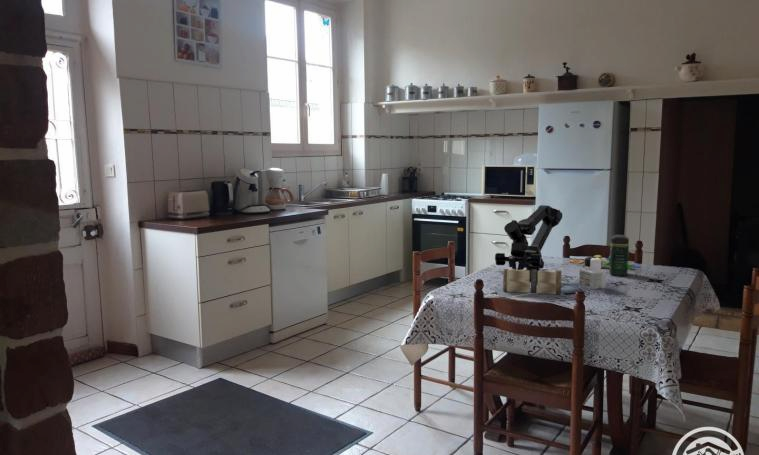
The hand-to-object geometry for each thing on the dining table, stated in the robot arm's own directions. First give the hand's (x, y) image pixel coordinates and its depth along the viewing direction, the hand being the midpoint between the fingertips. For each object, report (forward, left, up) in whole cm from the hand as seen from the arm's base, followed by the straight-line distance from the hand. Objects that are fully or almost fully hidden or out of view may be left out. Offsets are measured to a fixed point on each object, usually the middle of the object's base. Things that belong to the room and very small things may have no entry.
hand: (516, 276), depth 240 cm
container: (-5, +34, -7) cm, 35 cm away
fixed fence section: (+7, +12, -6) cm, 15 cm away
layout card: (+2, +4, -7) cm, 8 cm away
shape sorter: (-51, +58, -7) cm, 77 cm away
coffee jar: (-29, +56, -7) cm, 63 cm away
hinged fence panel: (+3, +1, -6) cm, 6 cm away
